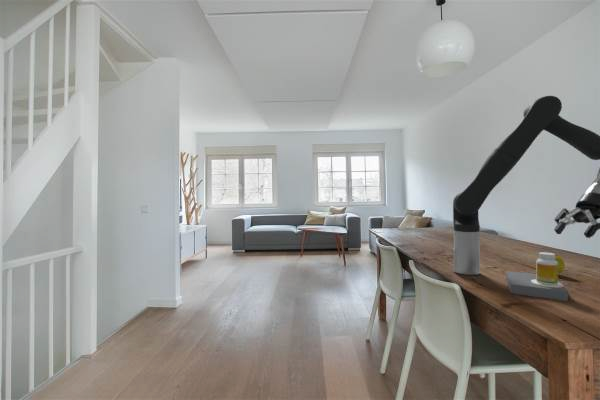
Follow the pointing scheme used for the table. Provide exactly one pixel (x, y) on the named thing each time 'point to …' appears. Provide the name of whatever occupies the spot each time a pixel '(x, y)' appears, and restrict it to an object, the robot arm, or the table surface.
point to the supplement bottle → (547, 269)
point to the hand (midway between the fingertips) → (571, 234)
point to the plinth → (534, 286)
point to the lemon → (560, 264)
